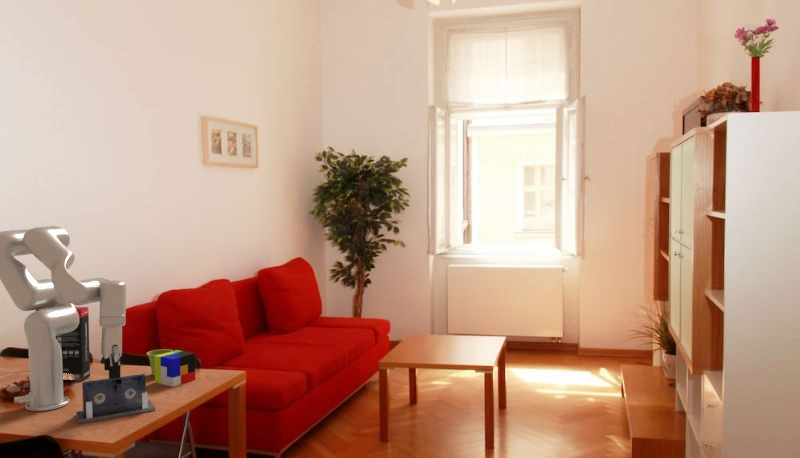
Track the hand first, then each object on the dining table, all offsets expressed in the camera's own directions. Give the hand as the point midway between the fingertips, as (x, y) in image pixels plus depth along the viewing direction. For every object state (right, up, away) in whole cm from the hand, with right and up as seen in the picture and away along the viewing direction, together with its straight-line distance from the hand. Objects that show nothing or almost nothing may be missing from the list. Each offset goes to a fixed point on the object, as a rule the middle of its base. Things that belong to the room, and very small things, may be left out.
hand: (112, 373), depth 207 cm
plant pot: (-1, -10, +44) cm, 45 cm away
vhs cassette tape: (+1, -12, 0) cm, 12 cm away
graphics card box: (-34, -11, +38) cm, 52 cm away
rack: (+1, -12, 0) cm, 12 cm away
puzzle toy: (+8, -11, +35) cm, 38 cm away
